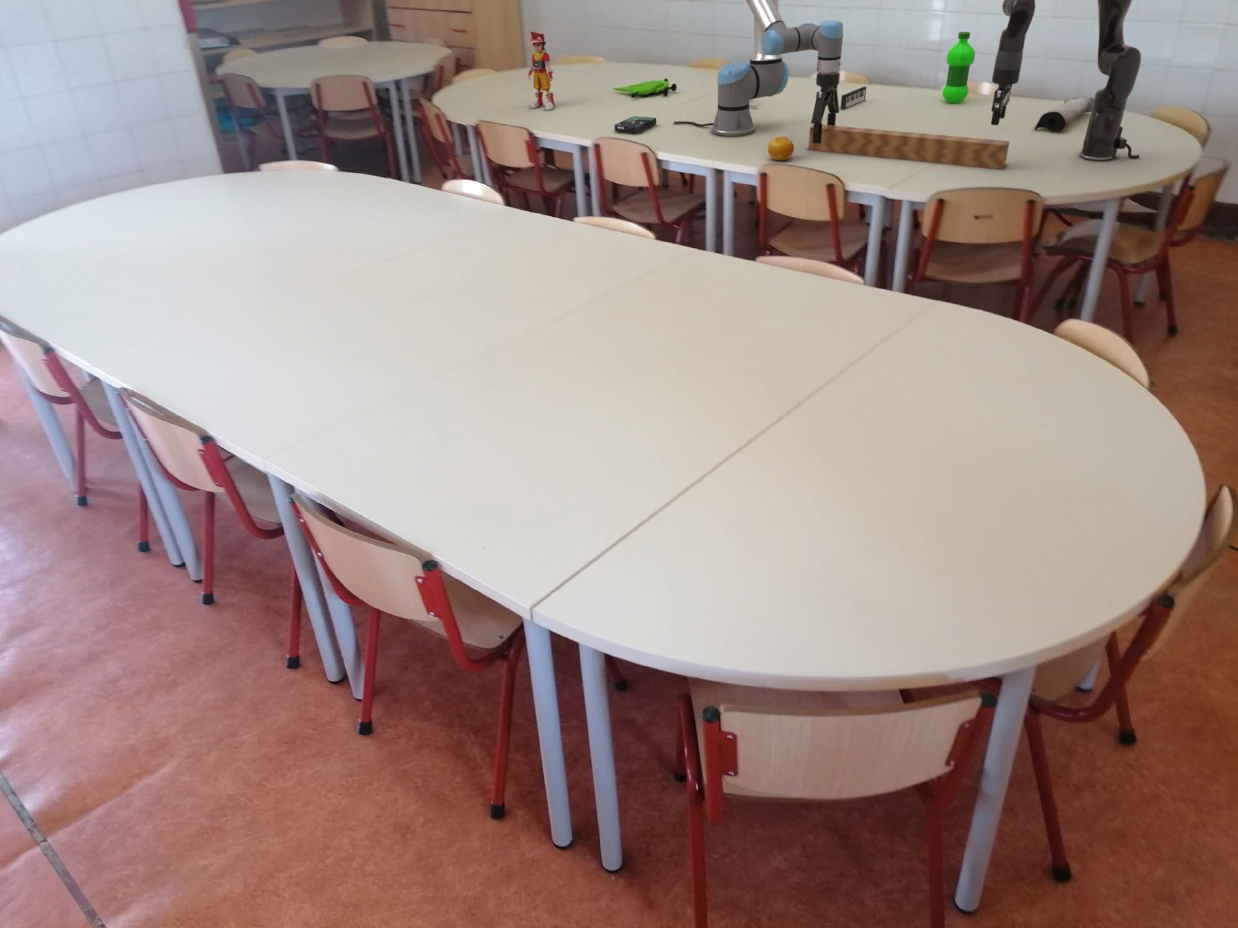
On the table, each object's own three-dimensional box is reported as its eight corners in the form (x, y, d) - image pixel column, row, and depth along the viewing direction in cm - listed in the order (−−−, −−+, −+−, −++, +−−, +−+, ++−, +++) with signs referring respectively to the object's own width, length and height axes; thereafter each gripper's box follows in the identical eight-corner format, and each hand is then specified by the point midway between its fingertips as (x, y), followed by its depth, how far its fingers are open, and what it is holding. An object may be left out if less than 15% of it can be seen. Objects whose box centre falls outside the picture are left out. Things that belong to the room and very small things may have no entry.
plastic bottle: (973, 101, 354) (984, 32, 339) (955, 106, 349) (966, 36, 335) (952, 97, 361) (962, 29, 346) (934, 102, 356) (944, 33, 342)
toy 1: (525, 109, 381) (517, 32, 364) (534, 104, 388) (527, 28, 371) (550, 110, 377) (543, 32, 360) (559, 105, 384) (553, 28, 367)
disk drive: (637, 135, 339) (656, 124, 349) (637, 127, 338) (656, 117, 348) (614, 132, 344) (634, 122, 354) (613, 125, 343) (633, 115, 353)
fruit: (761, 151, 301) (775, 129, 298) (766, 153, 309) (779, 132, 306) (781, 165, 300) (795, 143, 297) (786, 167, 307) (800, 146, 304)
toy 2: (686, 85, 398) (631, 84, 414) (685, 72, 395) (629, 72, 411) (651, 104, 381) (596, 103, 397) (650, 92, 378) (594, 91, 394)
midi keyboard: (843, 109, 354) (844, 96, 351) (840, 109, 355) (841, 95, 352) (865, 100, 365) (866, 87, 362) (862, 99, 365) (863, 86, 362)
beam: (808, 149, 312) (809, 127, 308) (813, 146, 316) (815, 124, 312) (1001, 169, 284) (1006, 145, 280) (1005, 165, 287) (1009, 141, 283)
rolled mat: (1062, 101, 334) (1086, 84, 326) (1075, 122, 335) (1100, 105, 327) (1030, 123, 317) (1055, 105, 309) (1044, 145, 318) (1070, 128, 309)
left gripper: (826, 81, 288) (821, 148, 300) (851, 65, 305) (846, 130, 317) (804, 79, 291) (800, 146, 303) (830, 64, 308) (825, 128, 320)
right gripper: (1016, 71, 264) (1005, 128, 273) (1025, 62, 274) (1014, 117, 283) (989, 70, 267) (979, 126, 276) (999, 60, 277) (990, 115, 286)
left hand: (823, 138), depth 310 cm, fingers open, 13 cm apart
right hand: (997, 121), depth 280 cm, fingers open, 8 cm apart
